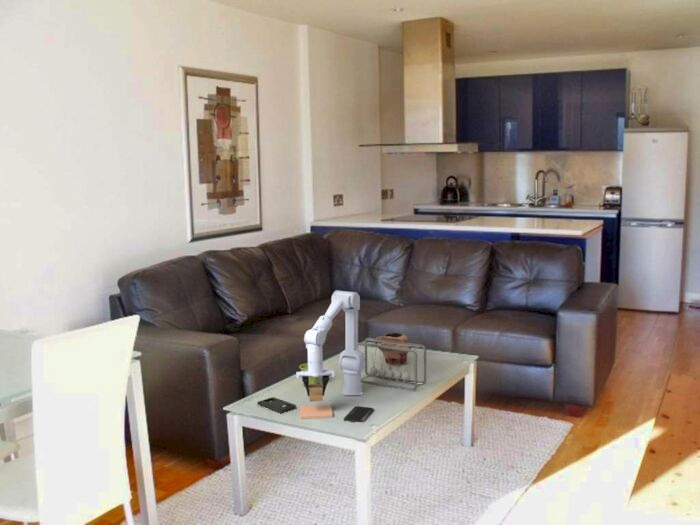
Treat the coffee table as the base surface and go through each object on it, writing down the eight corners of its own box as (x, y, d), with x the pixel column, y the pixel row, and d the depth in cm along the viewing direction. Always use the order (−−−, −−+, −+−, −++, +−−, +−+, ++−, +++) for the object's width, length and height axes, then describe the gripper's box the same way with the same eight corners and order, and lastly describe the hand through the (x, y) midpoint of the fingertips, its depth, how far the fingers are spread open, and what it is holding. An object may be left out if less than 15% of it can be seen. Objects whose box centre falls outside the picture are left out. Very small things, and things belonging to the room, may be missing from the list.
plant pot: (318, 389, 307) (318, 369, 306) (297, 388, 309) (296, 368, 307) (324, 382, 316) (323, 363, 315) (303, 381, 318) (302, 362, 317)
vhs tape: (296, 409, 283) (296, 404, 283) (281, 415, 278) (280, 410, 278) (273, 401, 293) (272, 396, 293) (257, 406, 288) (257, 401, 287)
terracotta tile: (300, 407, 284) (300, 405, 284) (330, 406, 285) (330, 404, 285) (300, 418, 272) (300, 416, 272) (332, 417, 273) (332, 415, 273)
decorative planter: (368, 363, 345) (368, 334, 343) (379, 357, 355) (379, 329, 353) (406, 368, 335) (406, 339, 333) (417, 362, 346) (417, 333, 344)
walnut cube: (309, 397, 280) (309, 384, 280) (322, 396, 281) (321, 384, 280) (309, 401, 275) (309, 388, 275) (322, 400, 276) (322, 388, 275)
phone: (374, 408, 281) (362, 421, 267) (374, 410, 281) (362, 424, 267) (355, 405, 284) (342, 419, 270) (355, 408, 284) (342, 421, 270)
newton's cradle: (354, 381, 317) (353, 342, 315) (365, 375, 326) (365, 336, 323) (416, 392, 302) (416, 350, 300) (426, 385, 311) (426, 344, 308)
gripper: (296, 364, 271) (297, 399, 273) (334, 362, 273) (335, 397, 274) (296, 359, 278) (296, 393, 280) (333, 357, 280) (334, 391, 281)
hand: (315, 395), depth 278 cm, fingers closed on walnut cube, 5 cm apart
